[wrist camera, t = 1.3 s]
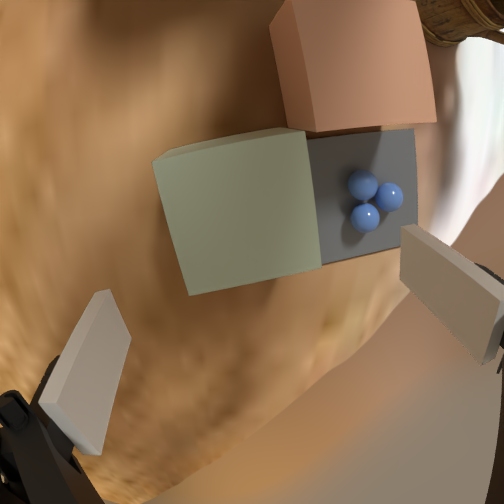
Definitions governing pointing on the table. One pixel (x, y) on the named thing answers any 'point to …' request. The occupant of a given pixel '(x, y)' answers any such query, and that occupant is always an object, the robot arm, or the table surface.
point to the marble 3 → (389, 197)
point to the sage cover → (240, 208)
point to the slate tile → (342, 202)
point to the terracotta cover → (352, 64)
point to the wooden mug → (461, 20)
